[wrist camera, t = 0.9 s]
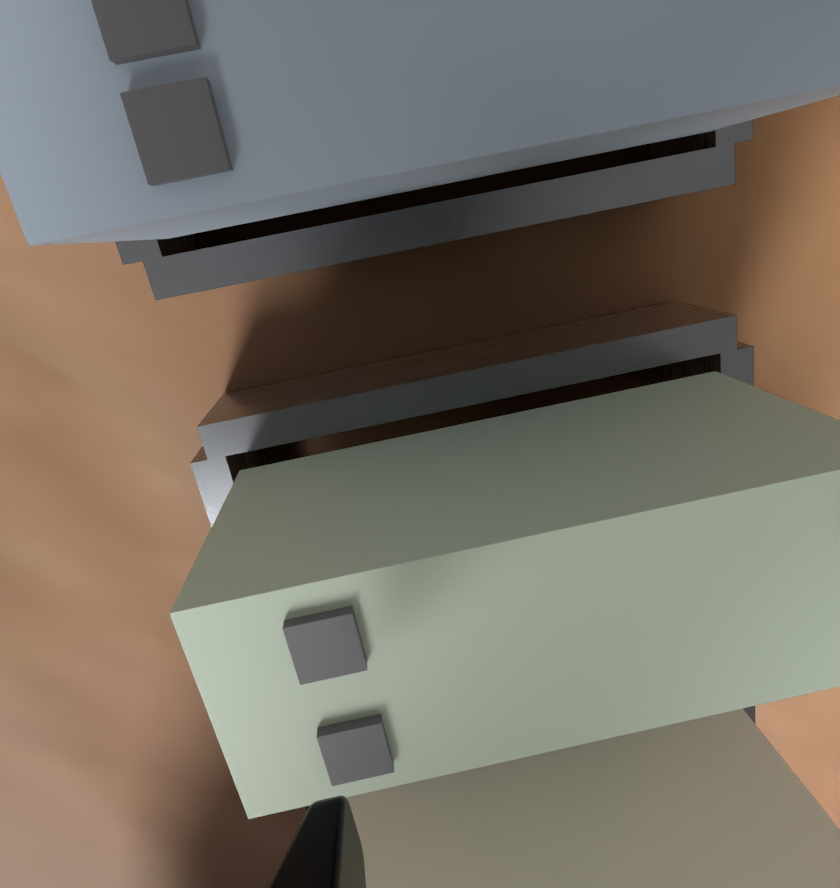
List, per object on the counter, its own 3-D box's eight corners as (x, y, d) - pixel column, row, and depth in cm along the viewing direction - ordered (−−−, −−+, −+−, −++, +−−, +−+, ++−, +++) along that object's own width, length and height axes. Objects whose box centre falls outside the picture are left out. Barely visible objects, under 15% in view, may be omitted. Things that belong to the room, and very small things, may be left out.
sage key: (285, 618, 15) (246, 830, 10) (239, 470, 14) (165, 621, 9) (719, 525, 16) (909, 681, 10) (715, 370, 14) (932, 457, 9)
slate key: (167, 238, 12) (19, 245, 7) (94, 1, 11) (-162, -221, 6) (709, 131, 13) (972, 57, 7) (702, -112, 11) (1022, -427, 6)
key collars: (339, 810, 22) (336, 896, 19) (86, 4, 14) (15, -55, 11) (704, 727, 22) (755, 800, 19) (671, -105, 14) (752, -190, 11)
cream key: (364, 873, 18) (366, 1140, 13) (332, 771, 17) (320, 1023, 12) (725, 790, 19) (875, 1018, 13) (722, 684, 17) (888, 889, 12)
